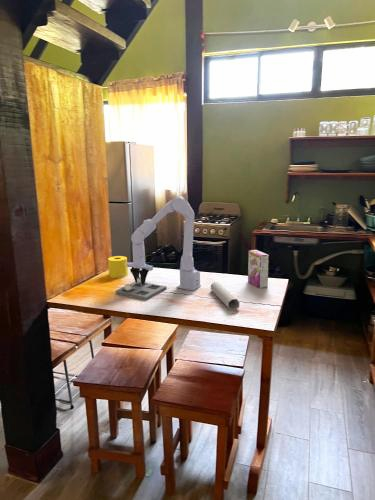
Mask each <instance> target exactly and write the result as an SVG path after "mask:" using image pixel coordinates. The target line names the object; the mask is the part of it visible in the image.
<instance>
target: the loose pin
mask: <svg viewBox="0 0 375 500" xmlns="http://www.w3.org/2000/svg"><path fill="white" fill-rule="evenodd" d="M137 286H140V287H142V286H144V284H141V276H139V277H137Z"/></svg>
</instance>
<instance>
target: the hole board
mask: <svg viewBox="0 0 375 500" xmlns="http://www.w3.org/2000/svg"><path fill="white" fill-rule="evenodd" d="M130 284H131V285H132V292H130V293H129V292H125V285H124V286H123V287H120V288H118V289H116V290H115V292H114V293H115V295H121V296H124V297H129V298H134V299H139V300H144V301H149V300H151V299H152V298H154V297H155V296H157V295H159V294H160V293H161V294H162V292H163V293H164V291H166V290H167V285H166V286H165V285H160V284H155V283H150V282H145V283H144V286H141V287H140V286H137V283H136V282H135V281H133V282H131V283H130Z"/></svg>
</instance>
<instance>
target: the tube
mask: <svg viewBox="0 0 375 500" xmlns="http://www.w3.org/2000/svg"><path fill="white" fill-rule="evenodd" d="M210 290H211V291H212V293H214V295H215V296H216V297H217V298H218V299H220V301H221V302H222V303H223V304H224V305H225V306H226V307H227V308H228V310H230V311H237V310H238V309H239V308H240V305H241V303H240V300H238V298H236V297H234V295H232V294H231V293H230V291H228V290H227V289H226V288H225V287H224V286H222V284H220V283H219V282H218V281H216V282H213V283H211V284H210Z"/></svg>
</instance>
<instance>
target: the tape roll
mask: <svg viewBox="0 0 375 500" xmlns="http://www.w3.org/2000/svg"><path fill="white" fill-rule="evenodd" d="M107 262H108V263H107V265H108V276H109V277H110V278H112V277H113V278H114V279H118V278H119V279H121V278H126V277H127V276H128V275H129V274H128V271H129V270H128V269H129V268H128V267H127V265H126V263H128V257H126V256H123V255H115V256H111V257H108V258H107Z"/></svg>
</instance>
